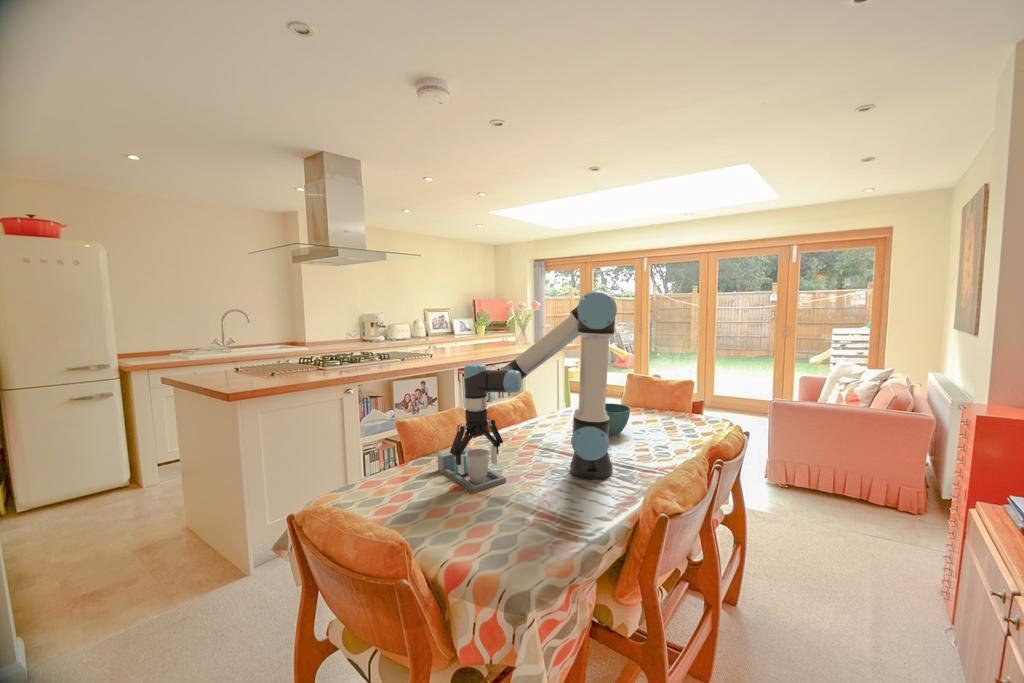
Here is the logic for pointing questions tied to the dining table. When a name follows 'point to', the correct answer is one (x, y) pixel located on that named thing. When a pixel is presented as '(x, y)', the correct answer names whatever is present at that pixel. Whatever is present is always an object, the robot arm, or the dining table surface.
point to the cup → (477, 464)
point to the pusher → (464, 466)
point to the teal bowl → (617, 417)
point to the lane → (448, 465)
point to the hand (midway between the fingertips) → (478, 468)
